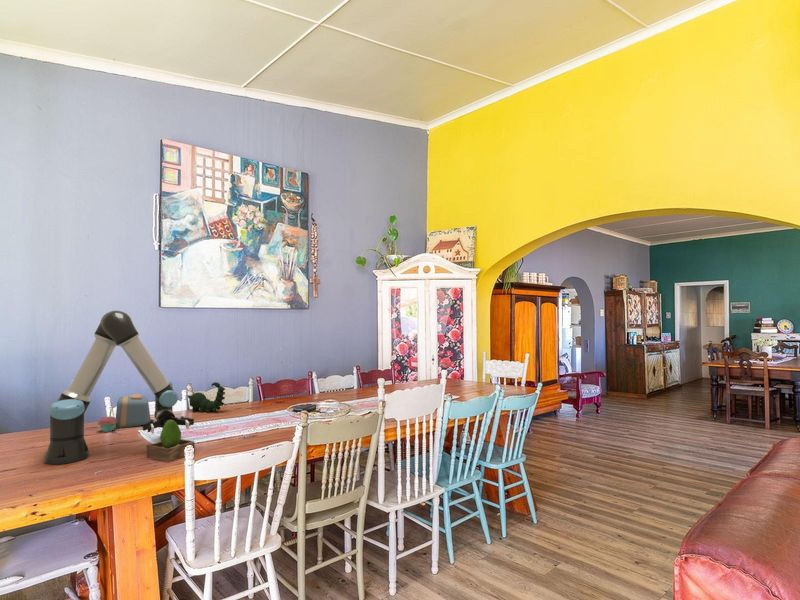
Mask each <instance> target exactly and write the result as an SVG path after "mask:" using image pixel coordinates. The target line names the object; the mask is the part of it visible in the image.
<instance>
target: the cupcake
mask: <svg viewBox="0 0 800 600" xmlns="http://www.w3.org/2000/svg"><path fill="white" fill-rule="evenodd" d="M112 411H113V408H112V407H110V410H109V415H108V416H104V417H101V418H100V419H99V420H98V422H97V425H98V426H100V428H101V430H102V433H103V432H104V433H106V432H107V433H108V431H109V432H112V430H113V431H114V429H115V427H116V423H117V421H118V420H117V419H116V416H115V417H114V416H112Z"/></svg>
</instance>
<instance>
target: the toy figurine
mask: <svg viewBox="0 0 800 600" xmlns="http://www.w3.org/2000/svg"><path fill="white" fill-rule="evenodd" d="M214 386H215V387H216V388H217V392H216V396H215V399H214V400H210V399H208V398H207V397H206V395H205V394H204V393H202V392H194V393H192V394H191V395H186V397H187V398H188V399H189V400H188V401H189V406H190V407H191V410H192V411H193V412H197V411H199V412H204V411H206V412H205V413H207V412H209V413H210V412H216V411H217V410H218V411H219V410H221V406H224V405H225V402H224V401H223V400H225V398H226V397H225V396H224V395H226V392H225V390H226V387H223V386H221V384H220V383H219V382H217V381H216V382H213V383H211V387H214Z"/></svg>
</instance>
